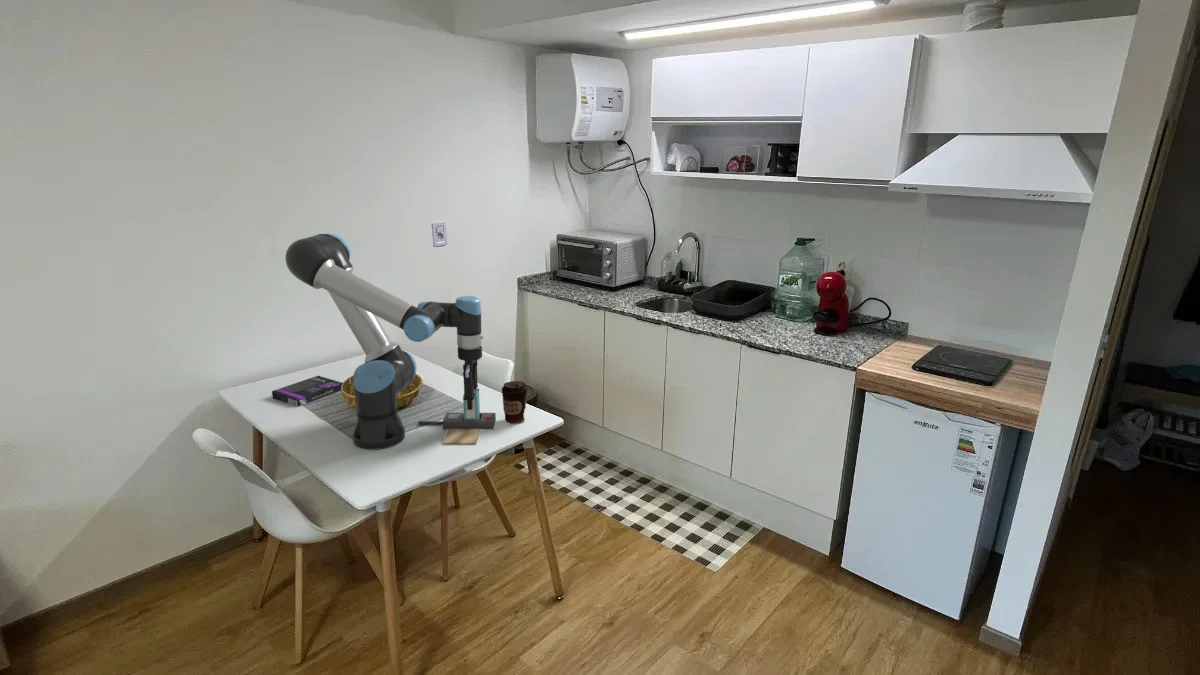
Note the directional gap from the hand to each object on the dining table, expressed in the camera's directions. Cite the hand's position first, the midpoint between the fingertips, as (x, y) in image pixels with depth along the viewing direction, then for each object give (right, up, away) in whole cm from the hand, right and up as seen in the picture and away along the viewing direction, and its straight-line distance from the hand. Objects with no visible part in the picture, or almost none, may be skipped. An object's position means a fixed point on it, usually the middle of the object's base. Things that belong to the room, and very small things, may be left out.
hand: (471, 414), depth 203 cm
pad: (-2, -6, -8) cm, 10 cm away
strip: (-5, -3, +1) cm, 6 cm away
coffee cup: (+13, -3, +5) cm, 14 cm away
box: (-63, +4, +23) cm, 68 cm away
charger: (0, -3, +1) cm, 3 cm away
